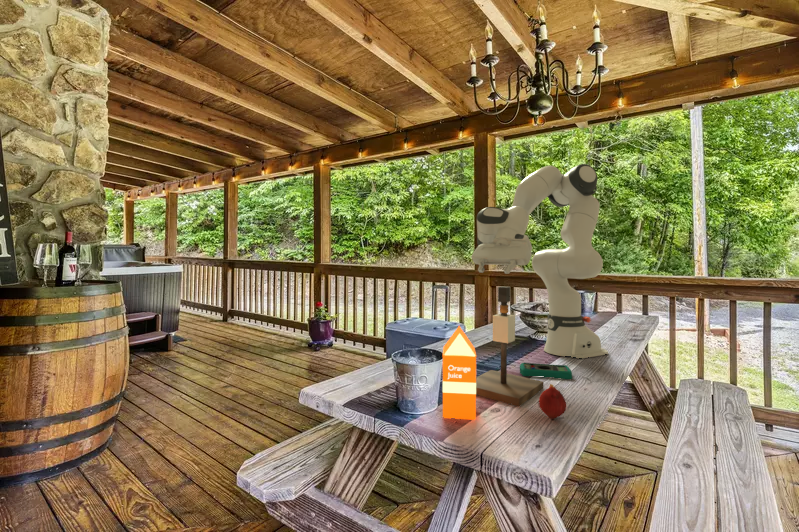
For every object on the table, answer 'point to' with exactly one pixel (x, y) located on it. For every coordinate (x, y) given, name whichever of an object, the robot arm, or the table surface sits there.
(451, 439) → the table surface
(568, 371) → the digital multimeter
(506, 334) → the small beige block
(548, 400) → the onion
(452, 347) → the orange juice
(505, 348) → the rod stand
